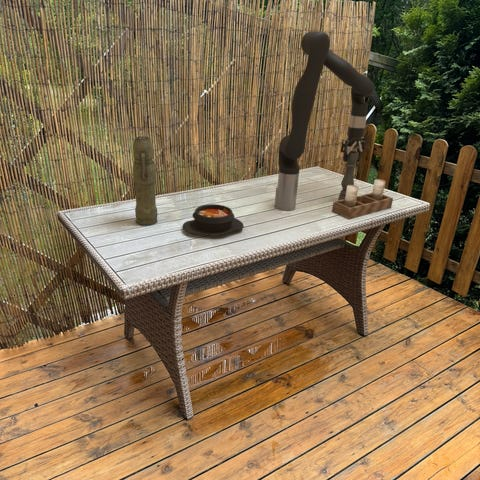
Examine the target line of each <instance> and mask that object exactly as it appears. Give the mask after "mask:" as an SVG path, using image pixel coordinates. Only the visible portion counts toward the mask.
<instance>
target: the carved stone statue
mask: <svg viewBox="0 0 480 480" xmlns="http://www.w3.org/2000/svg"><path fill="white" fill-rule="evenodd" d="M132 156H133V157H132V158H133V159H134V160H133V166H132V180H133V183H134V189H135V190H134V191H135V193H134V194H135V208H134V211H135V219H136V220H135V222H136V224H137V225H139V226H142V227H145V226H146V227H148V226H154V225H156V224H157V223H158V208H157V202H156V201H157V200H156V182H157V180H156V179H157V177H156V176H157V175H156V172H157V171H156V166H155V163H154V146H153V143H152V140H151V138H150V137H147V136H137V137H135V138H134V140H133V143H132Z"/></svg>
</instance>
